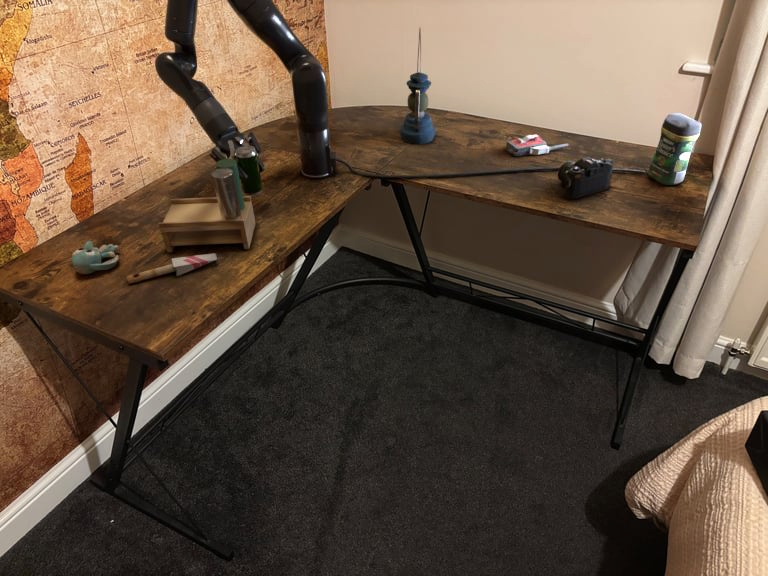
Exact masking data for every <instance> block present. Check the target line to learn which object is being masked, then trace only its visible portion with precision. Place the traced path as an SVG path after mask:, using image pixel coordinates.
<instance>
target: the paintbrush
mask: <svg viewBox="0 0 768 576" xmlns="http://www.w3.org/2000/svg"><path fill="white" fill-rule="evenodd" d="M217 260H218V257H217V254H216V253H215V252H213V253H207V254H205V253H204V254H198V255H190V256H180V257H172V258H171V264H166V265H164V266H159V267H157V268H153V269H149V270H145V271H142V272H138V273H135V274H130V275H127V276H126V280H127V282H128V284H129V285H130V284H134V283H137V282H142V281H145V280H148V279H152V278H155V277H159V276H162V275H166V274H169V273H173V272H175V275H176V277H179V276H182V275H184V274H186V273H188V272H191V271H193V270H196V269H198V268H200V267H203V266H205V265H207V264H209V263H213V262H214V261H217Z"/></svg>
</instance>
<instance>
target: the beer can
mask: <svg viewBox="0 0 768 576" xmlns="http://www.w3.org/2000/svg"><path fill="white" fill-rule="evenodd" d="M235 152H236V154H235V155H236V160H237V163H238V166H239V165H240V167H241V168H242V169H243V171H244V172H245V173H246V175H247V177H248V178H247V179H246V180H245V181H242V180H240V183H241V188H242V193H243V195H245V196H251V197H252V196H253V197H254V196H257V195H258V196H259V195H260V194H261V193H262V191H263V182H262V177H261V173H260V170H259V164H258V158H257V153H256V151H255V148H254V147H253V146H250V145H249V146H241V147H238V148H237V149H236V150H235Z"/></svg>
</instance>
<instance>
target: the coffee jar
mask: <svg viewBox="0 0 768 576" xmlns="http://www.w3.org/2000/svg"><path fill="white" fill-rule="evenodd" d="M701 129H702V123H701V122H700V121H697V120H695V119H693V118H691V117H689V116H687V115H685V114H682V112H676V113H670V114H668V115H666V116H665V118H664V120H663V122H662V125H661V128H660V137H659V141H658V144H657V147H656V149H655V152H654V155H653V157H652V160H651V162H650V163H649V167H648V170H647V175H648V176H649V177H650V178H652V180H654V181H656V182H658V183H659V184H662V185H665V186H666V185H667V186H676V185H678V184H681V183H683V181H684V180H685V175H686V173H687V172H686V171H687V169H688V165H689V160H690V157H691V154H692V151H693V147H694V145H695V143H696V141H697V140H698V138H699V137H700V134H701Z"/></svg>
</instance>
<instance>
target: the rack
mask: <svg viewBox="0 0 768 576" xmlns="http://www.w3.org/2000/svg"><path fill="white" fill-rule="evenodd" d="M215 168H216V169H214V170H213V171H212V172H211V178H212V183H213V189H214V192H215V197H214V196H213V197H191V198H187V197H186V198H171V199H170V203H171V205H170V207H169V209H168V211H167V213H166V215H165V217H164V219H163V221H162V222H161V221H159V222H158V227H159V230H160V233H161V236H162V240H163V242H164V243H163V244H164V246H165V248H166V252H167V253H173V251H174V249H175V247H178V246H199V245H224V244H226V245H227V244H242V245H243V249H244V250H250V247H251V243H252V239H253V236H254V231H255V227H256V225H257V223H256V219H255V218H256V217H255V214H254V207H253V202H252V196H248V195H245V196H244V192H243V191H242V186H241V181H240V177H239V172H238V167H237V162H236V160H234V159H227V158H226V159H223V160H220V161H218V162H215Z"/></svg>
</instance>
